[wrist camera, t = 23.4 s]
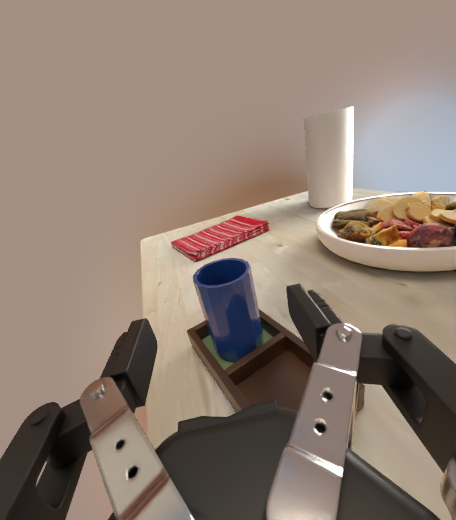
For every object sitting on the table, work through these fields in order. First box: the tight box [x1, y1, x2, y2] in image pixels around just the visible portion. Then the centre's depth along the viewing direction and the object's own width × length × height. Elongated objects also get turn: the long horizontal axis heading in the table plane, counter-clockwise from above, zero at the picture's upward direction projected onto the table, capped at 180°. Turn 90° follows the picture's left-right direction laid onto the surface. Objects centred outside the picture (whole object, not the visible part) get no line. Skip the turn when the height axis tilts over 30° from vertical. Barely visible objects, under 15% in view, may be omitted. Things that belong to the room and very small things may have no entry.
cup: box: [193, 258, 264, 363], centre depth 27 cm, size 6×6×10 cm
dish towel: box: [171, 216, 269, 261], centre depth 66 cm, size 17×24×3 cm
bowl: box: [316, 191, 456, 271], centre depth 43 cm, size 30×30×8 cm
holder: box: [187, 309, 365, 412], centre depth 25 cm, size 9×17×3 cm, turn 31°
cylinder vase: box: [304, 107, 354, 208], centre depth 70 cm, size 12×12×25 cm
